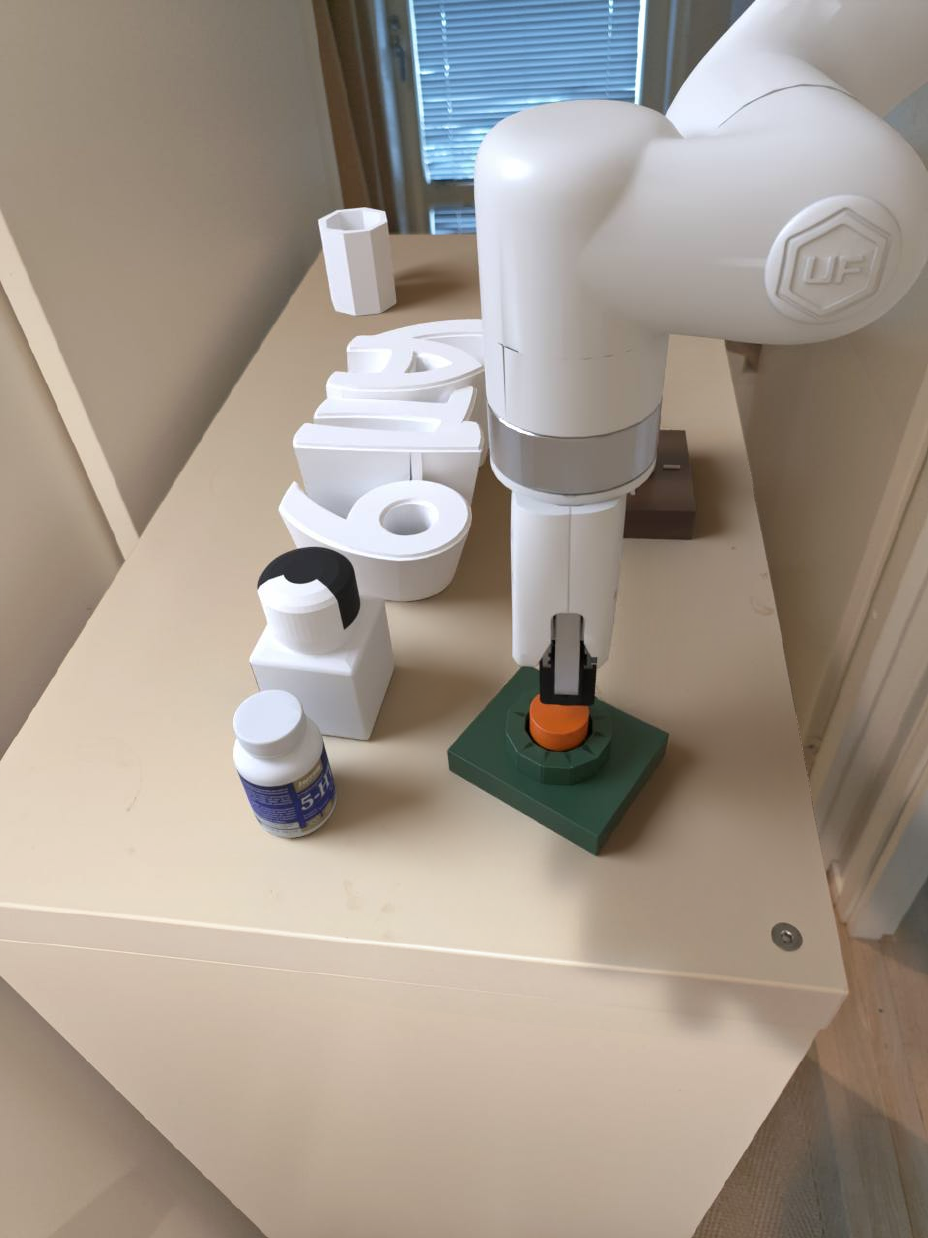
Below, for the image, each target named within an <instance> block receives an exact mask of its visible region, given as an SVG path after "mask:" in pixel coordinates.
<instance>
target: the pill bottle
mask: <svg viewBox="0 0 928 1238" xmlns="http://www.w3.org/2000/svg"><path fill="white" fill-rule="evenodd" d="M232 728H233V730H234V733H235V737H236V738H235V741H234V744H233V748H232V758H233V764H234V767H235V769H236V772H237V775H238V777H239V780H240V782H241V784H242V787H243V790H244V792H245V795H246V797H247V800H248V802H249V805H250V807H251V810H252V812H253V814H254V817H255V819H256V821H257V823H258V824H259V826H261V828H262V829H263V830H264V831H266V832H267V833H269V834H271V835H273V836H275V837H279V838H285V839H287V838H288V839H290V838H291V839H293V838H294V839H295V838H300V837H303V836H306V835H309V834H311V833H313V832H315V831H316V830H318V829H320V828H321V827H322V826H323V825H324V824H325V823H326V822H327V821H328V820H329V819H330V817H331V816H332V814H333V812H334V810H335V808H336V805H337V801H338V800H337V798H338V793H337V788H336V785H335V779H334V775H333V772H332V769H331V765H330V761H329V757H328V753H327V749H326V747H325V742H324V738H323V734H321V732H320V730H319V728H318V726H317V725H316V723H315V722H314V721H313V720H312V719H311V718H309V717H308V716H306V715H305V713H304V710H303V707H302V705H301V703H300V701H299V700H298V698H297V697H296V696H294V695H293V694H291V693H289V692H286V691H283V690H266V691H262V692H260V691H259V692H256V693H254V694H252V695H250V696H249V697H247V698H246V699H245V700H243V701H242V702H241V704H239V706H238V707H237V709H236V710H235V712H234V715H233V719H232Z"/></svg>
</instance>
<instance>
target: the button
mask: <svg viewBox="0 0 928 1238" xmlns="http://www.w3.org/2000/svg"><path fill="white" fill-rule="evenodd" d="M588 720H589V708H588V706H575V705H574V706H563V705H550V704H543V703H541V702H540V694H539V695H537V696H536V697H535V698H534V700H533V701H532V703H531V706H530V733H531V735H532V737H533V739H534V740H535V741H536V742H537V743H538V744H539V745H541V746H542V747H544V748H546V749H549V750H553V751H566V750H570V749H573V748H575V747H577V746H578V745H580V744H581V743H582V742H583V741H584V739H585V738H586V736H587V732H588Z"/></svg>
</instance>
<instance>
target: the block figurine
mask: <svg viewBox="0 0 928 1238" xmlns="http://www.w3.org/2000/svg"><path fill="white" fill-rule="evenodd" d="M256 588H257V589H256V590H257V594H258V597H259V600H260V605H261V607H262V610H263V613H264V616H265V619H266V623H267V624H266V626H265V628H264V630H263V631H262V634H261V635H260V637H259V639H258V641H257V643H256V645H255V647H254V649H253V651H252V653H251V654H250V657H249V664H250V667H251V670H252V673H253V676H254V678H255V682H256V684H257V687H258V690H259V692H262V691H266V690H283V691H286V692H289V693H291V694H293V695H294V696H296V697H297V698H298V700H299V701H300V703H301V705H302V707H303V710H304V713H305V715H306V716H308V717H309V718H311V719H312V720H313V721H314V722H315V723H316V725H317V726H318V728H319V730H320V732H321V735H322V736H323V735H324V736H330V737H338V738H343V739H344V738H346V739H353V740H358V741H359V740H361V741H368V740H369V739H370V738H371V736H372V733H373V729H374V727H375V724H376V721H377V719H378V716H379V714H380V710H381V707H382V705H383V702H384V699H385V696H386V694H387V690H388V687H389V684H390V682H391V679H392V677H393V674H394V670H395V667H396V662H395V661H396V660H395V655H394V650H393V644H392V639H391V633H390V627H389V626H390V625H389V620H388V615H387V614H388V613H387V607H386V602H385V600H384V599H383V598H382V597H379V596H370V595H361V594H359V592H358V587H357V582H356V576H355V571H354V568H353V565H352V564H351V562H350V561H349V560H348V559H347V558H346V557H345V556H344V555H342V554H340V553H338V552H336V551H334V550H332V549H328V548H323V547H304V548H299V549H298V548H295V549H292V550H289V551H285V552H283V553H282V554H280V555H278V556H277V557H275V558H274V559H272V561H270V562H269V563H268V564H267V565H266V567H265V568H264V569H263V571H261V574H260V575H259V578H258V580H257V585H256Z"/></svg>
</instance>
